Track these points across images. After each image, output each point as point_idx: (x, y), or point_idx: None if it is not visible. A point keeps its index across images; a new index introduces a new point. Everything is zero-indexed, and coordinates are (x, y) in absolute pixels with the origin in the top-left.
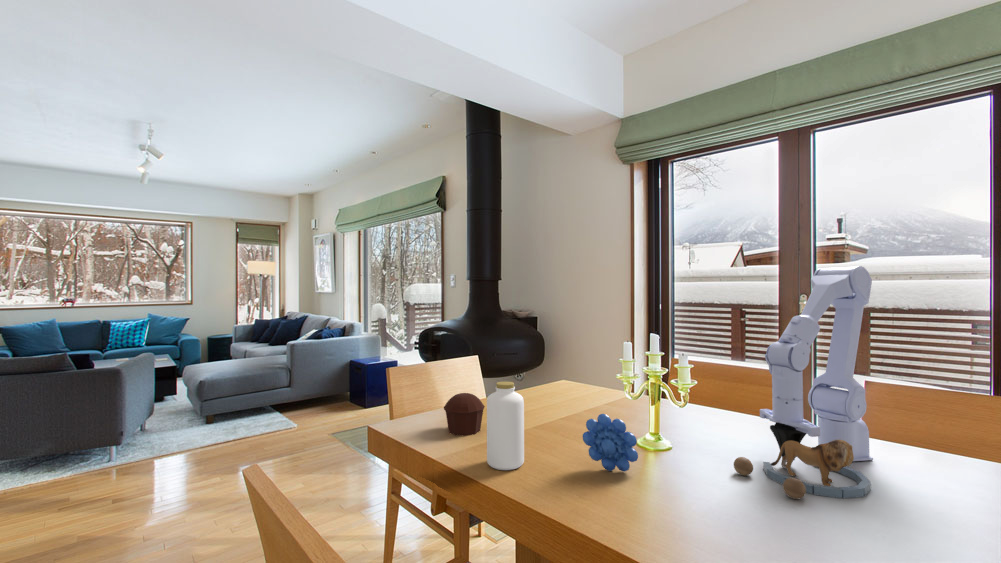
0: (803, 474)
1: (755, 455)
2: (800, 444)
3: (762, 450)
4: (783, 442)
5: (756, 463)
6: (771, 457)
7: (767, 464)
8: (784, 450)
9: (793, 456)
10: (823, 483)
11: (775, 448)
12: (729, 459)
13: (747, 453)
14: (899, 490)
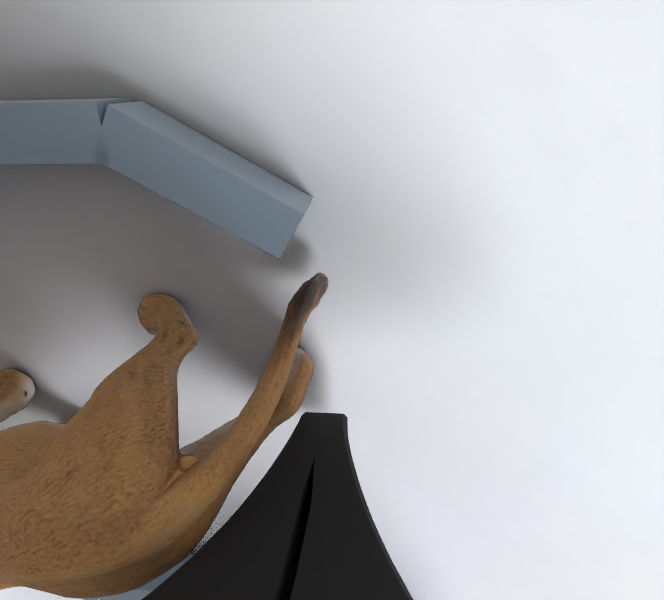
0: (189, 390)
1: (591, 346)
2: (1, 570)
3: (652, 463)
4: (261, 527)
5: (433, 226)
6: (508, 422)
7: (227, 198)
8: (285, 464)
9: (81, 408)
10: (9, 375)
11: (637, 553)
12: (616, 12)
13: (660, 317)
14: (22, 596)
